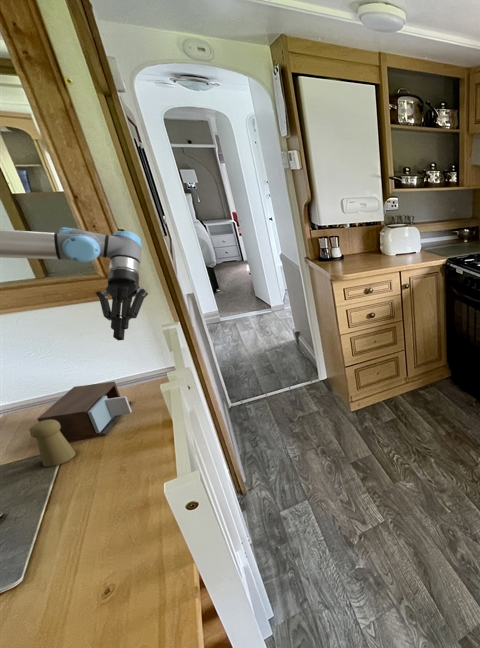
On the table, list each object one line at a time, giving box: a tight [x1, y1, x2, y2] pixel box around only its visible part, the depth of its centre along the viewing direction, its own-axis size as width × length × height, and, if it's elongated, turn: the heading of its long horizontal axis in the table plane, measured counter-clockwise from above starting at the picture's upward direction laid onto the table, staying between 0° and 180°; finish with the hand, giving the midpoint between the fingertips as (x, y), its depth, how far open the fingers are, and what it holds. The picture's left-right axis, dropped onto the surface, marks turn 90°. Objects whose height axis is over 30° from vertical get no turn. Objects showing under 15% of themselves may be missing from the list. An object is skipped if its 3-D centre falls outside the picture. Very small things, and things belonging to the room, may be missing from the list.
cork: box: [29, 420, 76, 468], centre depth 95 cm, size 6×6×11 cm
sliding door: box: [88, 395, 133, 434], centre depth 109 cm, size 6×9×7 cm, turn 21°
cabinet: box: [37, 381, 132, 443], centre depth 111 cm, size 12×18×8 cm
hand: (118, 338), depth 116 cm, fingers closed
